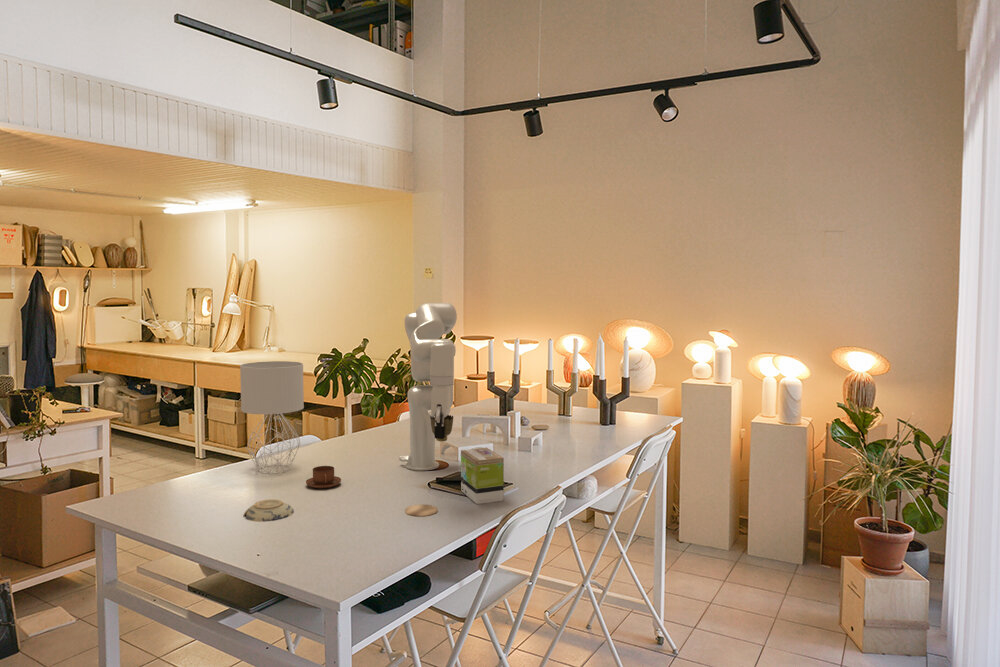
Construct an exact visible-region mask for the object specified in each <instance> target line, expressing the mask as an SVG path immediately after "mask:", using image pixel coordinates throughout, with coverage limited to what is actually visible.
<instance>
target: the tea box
mask: <svg viewBox="0 0 1000 667" xmlns="http://www.w3.org/2000/svg"><path fill="white" fill-rule="evenodd" d="M504 463H505V462H504V457H503V456H501V455H499V454H498V453H496V452H494V451H493V450H492V449H490V448H489V447H480V448H479V447H478V448H473V449H472V448H471V449H462V450H460V479H461V482H460V486H461V487H460V489H461V492H462V493H463V494H464V495H466V497H468V498H469V499H470V500H472V502H474V503H475V504H476V505H483V504H489V503H498V502H502V501H504V497H505V495H504V494H505V492H504V490H505V488H504V486H505V485H504V484H505V483H504V481H505V480H504V474H505V473H504V469H505V467H504V465H505V464H504ZM462 489H463V490H462Z"/></svg>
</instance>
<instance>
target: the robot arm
mask: <svg viewBox="0 0 1000 667" xmlns="http://www.w3.org/2000/svg"><path fill="white" fill-rule="evenodd" d="M457 314H458V313H457V310H456V308H455V306H454V305H453V304H452V303H451V302H450V303H449V302H428V303H427V302H425V303H422V304H420V305H419V306H418V307H417V309H416V311H415V312H409V313H408V314H406V316H405V317H404V330H405V333H406V336H407V338H408V341H409V345H410V374H411V377H412V380H414V381H415V382H430V383H429V384H421V385H420V384H419V385H414V386H412V387H410V388H409V390H408V391H407V403H408V410H409V454H407V455H399V457H398V461H400V462H407V463H406V464H405V467H406V469H407V470H411V471H421V472H423V471H424V472H425V471H430V470H431V471H432V470H435V469H438V468H439V467H440V464H439V461H436V439H444V438H445V426H444V418H445V417H446V416H448V415H450V412H451V408H452V407H453V404H454V386H455V378H454V377H455V356H456V351H457V349H456V345H455V343H454V342H453V340H451V339H448V338H442V337H443V335H448V334H450V333H451V331H452V330H453V328H454V327H455V326H456V322H457V318H458V317H457ZM429 411H430V413H429ZM435 415H436V417H435ZM441 415H442V416H441ZM430 416H431V417H435V435H434V434H433V432H432V428H431V419H430ZM441 419H442V420H441Z"/></svg>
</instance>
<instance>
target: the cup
mask: <svg viewBox="0 0 1000 667" xmlns="http://www.w3.org/2000/svg"><path fill="white" fill-rule="evenodd" d="M441 416H442V415H441ZM435 417H436V415H435V416H434V417H431V416H430V419H431V428H432V432H433V434H434V435H435ZM454 418H455V416H454V415H451V414H448V416H446V417H445V418H444V426H445V438H444V439H436V438H435V441H438V442H446V441H447V440H448V436H449V435H450V434H451V433H452V430H453V423H454ZM441 420H442V419H441Z"/></svg>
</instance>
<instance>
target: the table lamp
mask: <svg viewBox="0 0 1000 667" xmlns="http://www.w3.org/2000/svg"><path fill="white" fill-rule="evenodd" d="M239 368H240V370H239V372H240V411H241V412H242V413H245V414H250V415H263V416H262V418H261V420H260V421H259V422H258V423H257V425H256V427H254V429H253V431H252V432H251V434H250V437H249V439H248V441H247V446H246V449H247V450H246V451H247V452H248V453H249V456H250V459H251V460H252V461H253V464H254V465H255V467H256V469H257V471H258V472H259V473H262V474H265V472H266V474H269V475H270V474H271V471H272V470H273V468H274V467H276V470H279V469H278V468H279V467H281V469H282V470H283V471H280V472H278V471H277V474H279V473H286V472H287V471H289V470H290V469H291V467H292V465H293V463H294V460H295V458H296V457H297V456H296V455H297V453H298V451H299V448H300V445H301V440H300V437H299V434H298V433H297V431H296V429H295V427H294V426H293V425H292V424H291V423H290V421H289V420H288V419H287V418H286V417H285V415H284V414H288V413H289V414H291V413H294V412H299V411H302V410H304V408H305V405H304V403H305V402H304V399H305V397H304V393H305V392H304V363H303V362H299V361H289V360H285V361H284V360H282V361H281V360H280V361H279V360H278V361H277V360H273V361H257V362H256V361H255V362H246V363H242V364H240V366H239ZM268 415H269V420H268V423H267V427H266V431H264V432H263V433H261V431H262V430H261V429H262V428H263V426H264V423H265V421H266V419H267V417H268ZM273 416H274V423H275V425H277V420H278V422H279V425H280V429H281V432H279V431H278V429H277V426H275V429H274V428H272V424H270V422H272V420H273ZM281 417H282V419H283V420H284V422H285V423H286V425H287V426H288V430H287V429H286V427H285V425H284V422H283V420H282V419H281ZM276 418H277V420H276ZM262 420H263V421H262ZM261 422H262V423H261ZM281 423H282V424H281ZM260 424H261V426H260V427H259V425H260ZM269 425H270V427H269ZM257 427H259V429H258V430H257V432H255V430H256V429H257ZM282 427H283V428H284V431H285V432H283V428H282ZM271 430H273V431H274V432H276V434H279V435H282V436H284V435H285V434H287V439H288V440H286V439H284V438H283V437H281V436H279V435H276V436H275V437H273V438H272V439H270V440H269V441H268V442H267V443H266V441H264V442H262V440H261V439H259V438H260V437H261V436H263V434H265V435H264V436H265V437H264V440H266V438H267V432H268V431H269V435H271V434H272V433H271ZM288 431H290V432H291V435H292V436H291V438H290V437H289V434H288ZM253 435H255V436H254V437H253ZM294 436H295V437H294ZM256 438H257V440H258V441H257V444H256V446H255V449H254V448H251V441H253V443H252V447H254V444H255V442H256ZM275 438H276V440H277V441H276V442H277V445H276V446H274V448H272V447H271V445H272V444H271V442H272V441H273V440H274V439H275ZM279 438H280V439H281V442H279ZM295 438H296V441H297V442H298V443H297V445H296V446H295V445H294V444H295V442H293V443H292V439H293V440H295ZM253 439H254V440H253ZM281 443H282V447H281V450H283V448H284V445H285V446H286V447H287V448H288V451H287V452H286V453H284V454H283V451H281V453H280V457H279V458H277V457H275V455H274V454H273V452H272V451H273V450H274V449H276V448H278V447H279V446H280V444H281ZM287 443H288V444H289V446H288V445H287ZM291 443H292V444H291ZM268 444H269V447H270V448H267V447H265V446H267V445H268ZM291 445H292V446H291ZM260 446H261V447H263V449H267V451H269V454H268V453H267V452H266V451H261V448H260ZM294 446H295V447H294ZM257 447H258V449H259V453H260V455H259V456H258V458H257V457H256V455H255V453H256V450H257ZM296 448H297V450H296V451H295V454H294V452H293V451H294V450H295V449H296ZM277 454H279V449H277ZM282 454H283V455H282ZM262 455H264V459H263V456H262ZM266 455H267V456H268V457H267V459H266ZM286 455H287V456H286ZM292 455H293V457H292ZM284 456H286V457H285V458H284V459H283V457H284ZM260 457H261V460H262V462H261V460H259V458H260ZM269 457H270V460H271V463H273V459H274V460H275V461H276V462H275V463H274V465H273V464H271V465H268V464H267V463H268V461H269ZM291 458H292V459H291ZM282 459H283V461H282ZM286 459H287V461H286V464H285V466H284V465H282V464H283V463H284V461H285V460H286ZM264 460H265V462H264ZM279 461H280V462H279ZM270 467H272V468H271V469H270V470H269V468H270ZM262 469H263V470H265V472H263V471H262Z"/></svg>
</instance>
